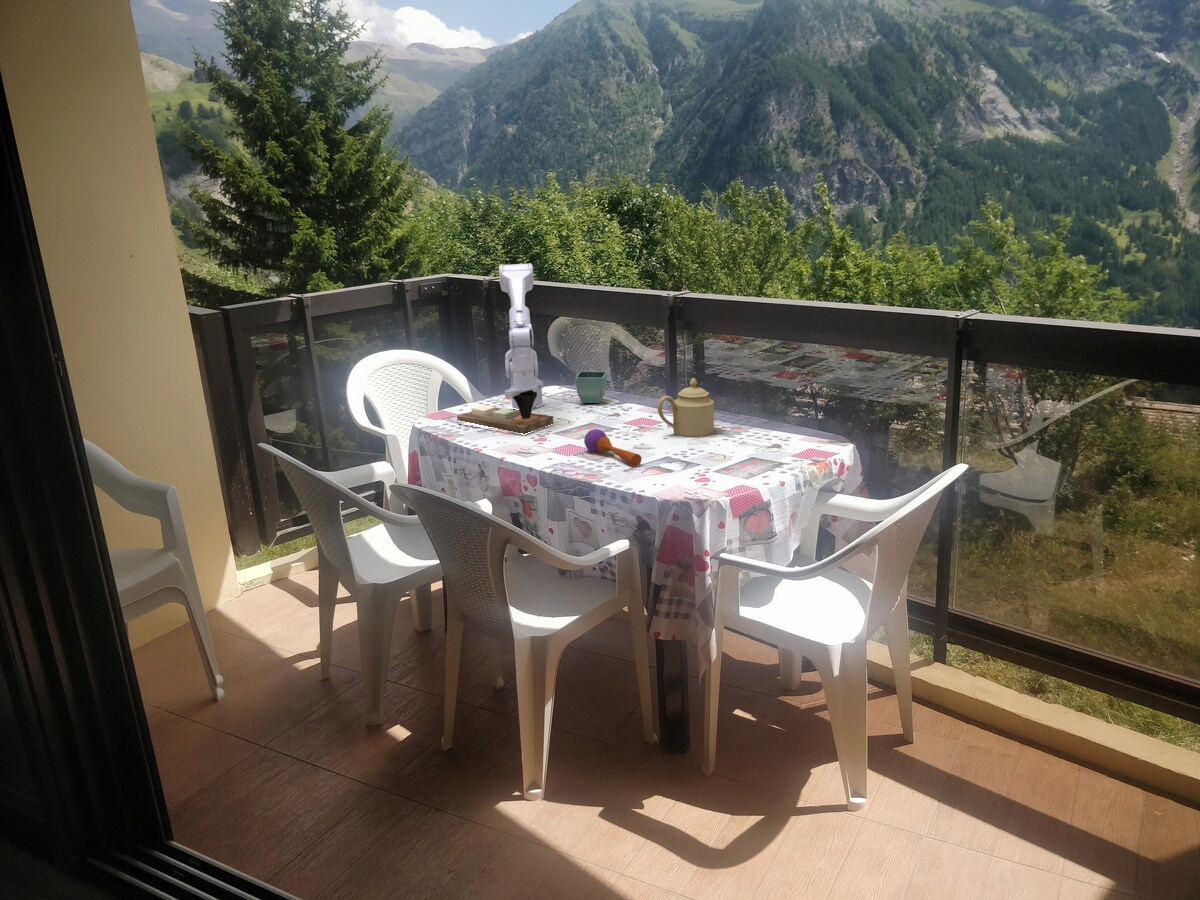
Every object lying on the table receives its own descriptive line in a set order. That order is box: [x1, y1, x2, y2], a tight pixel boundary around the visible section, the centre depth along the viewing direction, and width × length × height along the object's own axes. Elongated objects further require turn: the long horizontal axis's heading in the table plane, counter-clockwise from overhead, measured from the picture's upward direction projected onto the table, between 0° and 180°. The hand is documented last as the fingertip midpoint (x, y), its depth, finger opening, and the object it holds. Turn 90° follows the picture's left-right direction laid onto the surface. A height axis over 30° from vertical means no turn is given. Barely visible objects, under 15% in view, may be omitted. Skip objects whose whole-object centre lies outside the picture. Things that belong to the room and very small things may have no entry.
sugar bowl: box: [656, 377, 715, 438], centre depth 256 cm, size 15×11×15 cm
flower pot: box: [574, 370, 608, 404], centre depth 294 cm, size 9×9×9 cm
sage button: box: [492, 407, 518, 420], centre depth 273 cm, size 5×5×2 cm
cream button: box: [470, 404, 497, 416], centre depth 277 cm, size 5×5×2 cm
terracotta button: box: [514, 416, 539, 423], centre depth 269 cm, size 5×5×2 cm
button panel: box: [456, 407, 554, 434], centre depth 273 cm, size 13×25×2 cm, turn 54°
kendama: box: [583, 428, 642, 467], centre depth 239 cm, size 6×6×20 cm
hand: (526, 417), depth 268 cm, fingers closed, pressing on terracotta button
